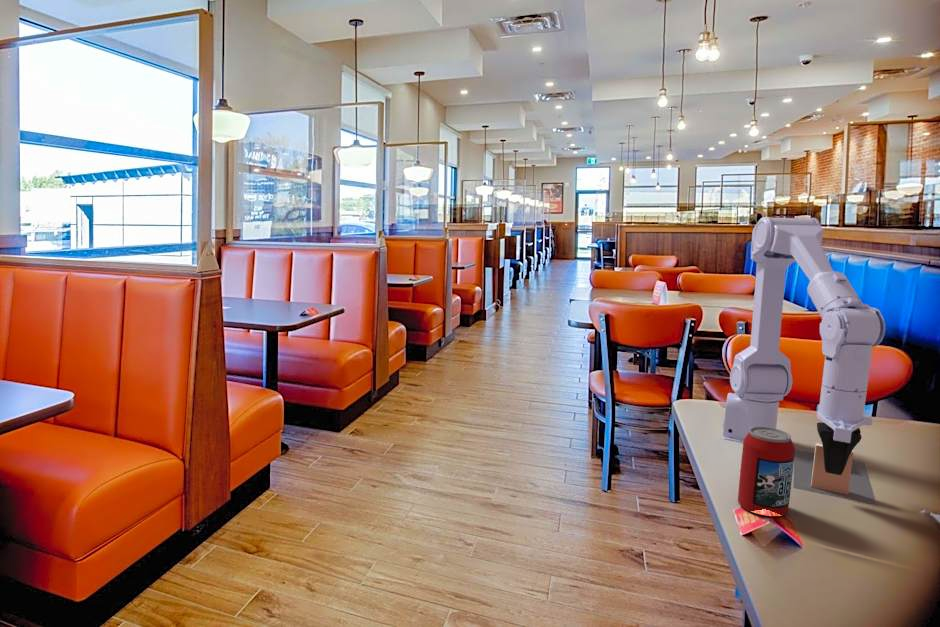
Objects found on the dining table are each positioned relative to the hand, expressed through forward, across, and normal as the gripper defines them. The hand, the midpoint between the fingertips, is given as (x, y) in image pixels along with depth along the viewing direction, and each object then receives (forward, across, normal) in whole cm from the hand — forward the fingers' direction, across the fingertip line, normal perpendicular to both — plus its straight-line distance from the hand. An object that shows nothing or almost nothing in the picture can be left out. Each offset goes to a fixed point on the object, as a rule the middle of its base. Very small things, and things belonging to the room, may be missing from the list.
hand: (833, 472), depth 89 cm
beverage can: (+5, -10, +9) cm, 14 cm away
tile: (+4, +4, 0) cm, 6 cm away
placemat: (+5, +11, 0) cm, 12 cm away
